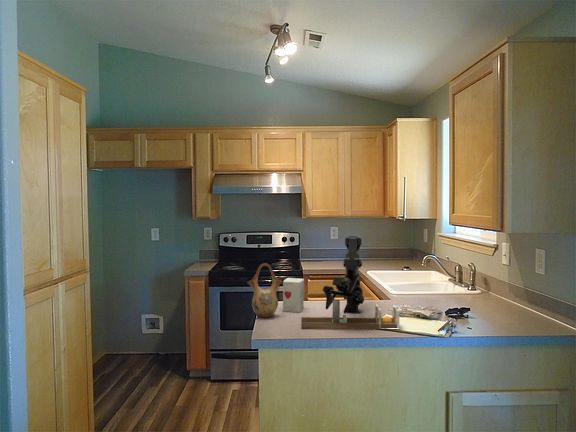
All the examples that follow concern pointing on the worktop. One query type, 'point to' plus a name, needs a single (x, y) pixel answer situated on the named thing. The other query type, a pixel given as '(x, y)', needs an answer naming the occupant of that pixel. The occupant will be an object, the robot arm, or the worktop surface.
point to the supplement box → (293, 294)
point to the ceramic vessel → (264, 295)
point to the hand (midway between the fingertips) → (335, 310)
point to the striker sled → (337, 313)
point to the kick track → (352, 322)
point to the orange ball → (386, 320)
